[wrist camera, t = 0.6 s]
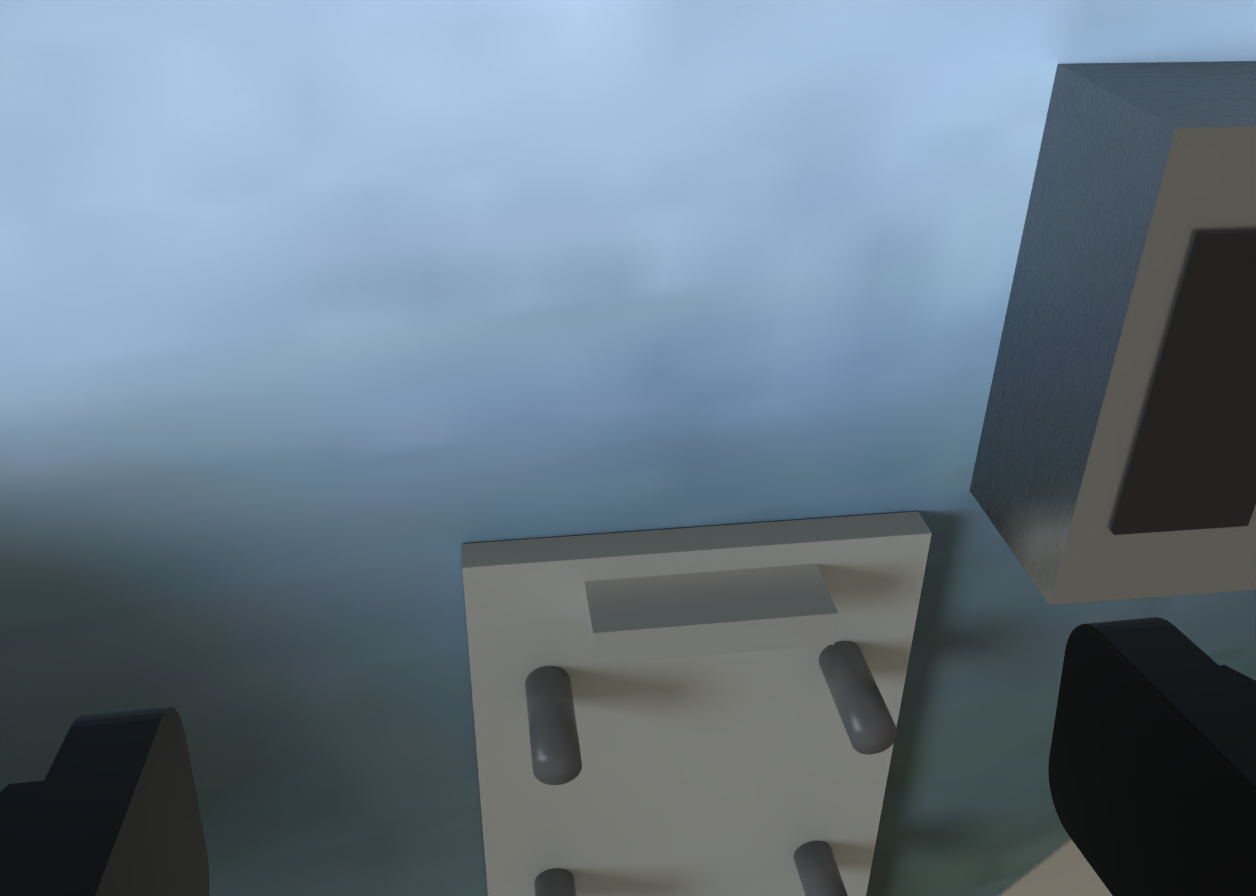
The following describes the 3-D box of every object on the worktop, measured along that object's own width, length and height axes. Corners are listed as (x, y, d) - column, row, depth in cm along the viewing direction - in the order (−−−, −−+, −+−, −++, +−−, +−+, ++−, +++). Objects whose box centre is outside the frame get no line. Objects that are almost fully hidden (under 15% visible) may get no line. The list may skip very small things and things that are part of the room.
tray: (461, 543, 29) (464, 649, 26) (918, 511, 31) (977, 606, 28) (492, 943, 38) (498, 1062, 34) (850, 902, 39) (889, 1013, 36)
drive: (1053, 61, 25) (1180, 130, 21) (1274, 58, 26) (1441, 124, 22) (966, 485, 31) (1052, 609, 27) (1149, 474, 32) (1262, 593, 27)
